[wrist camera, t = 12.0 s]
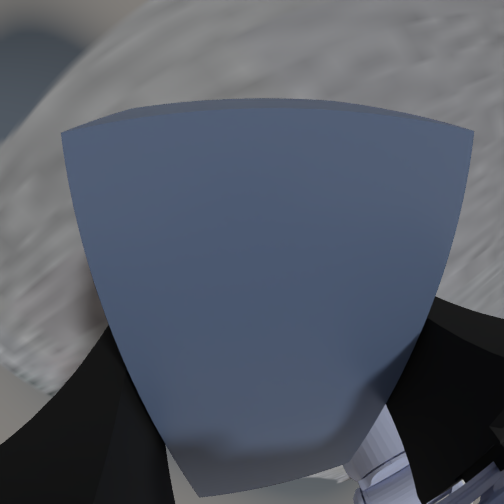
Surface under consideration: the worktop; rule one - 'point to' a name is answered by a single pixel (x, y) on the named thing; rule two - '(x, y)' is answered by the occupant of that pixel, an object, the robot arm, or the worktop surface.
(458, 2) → the worktop surface
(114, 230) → the slate blue block
